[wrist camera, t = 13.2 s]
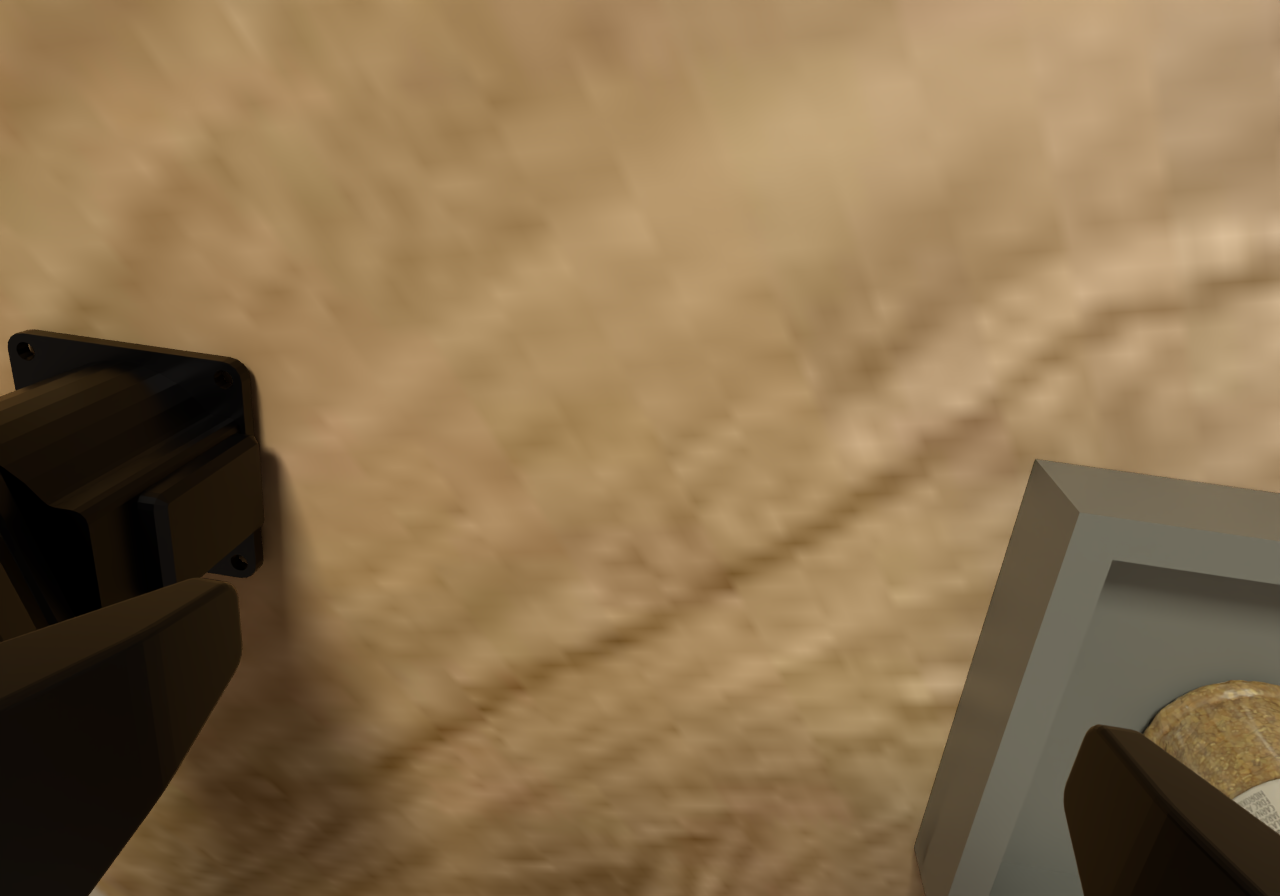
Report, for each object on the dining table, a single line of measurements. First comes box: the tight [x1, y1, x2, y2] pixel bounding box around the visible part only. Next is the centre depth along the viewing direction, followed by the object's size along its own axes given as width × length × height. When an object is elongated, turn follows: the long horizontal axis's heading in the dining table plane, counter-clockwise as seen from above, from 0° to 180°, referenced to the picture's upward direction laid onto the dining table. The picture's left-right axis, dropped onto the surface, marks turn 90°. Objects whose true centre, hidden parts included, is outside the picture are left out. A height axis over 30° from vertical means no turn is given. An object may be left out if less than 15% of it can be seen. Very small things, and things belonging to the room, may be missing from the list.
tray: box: [914, 459, 1280, 896], centre depth 21 cm, size 13×13×3 cm
